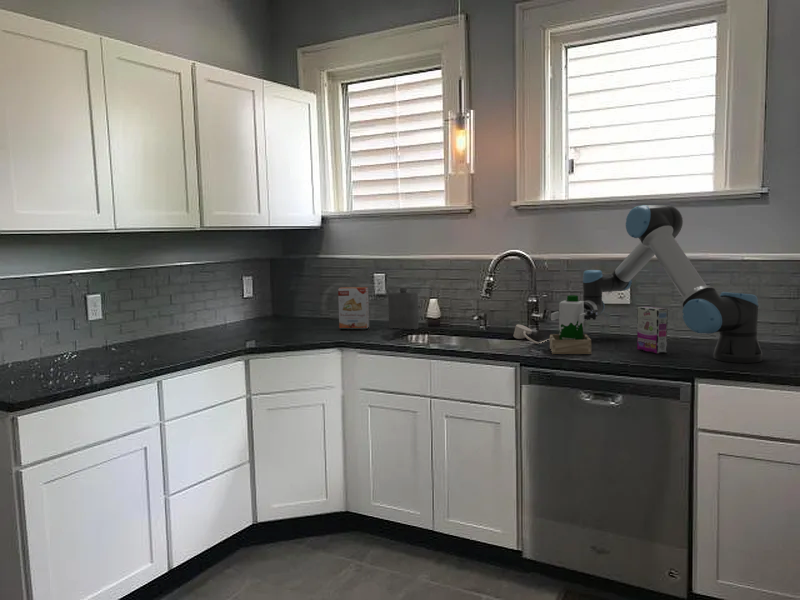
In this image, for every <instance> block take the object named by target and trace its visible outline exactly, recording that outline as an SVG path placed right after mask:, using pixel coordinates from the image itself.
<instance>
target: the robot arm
mask: <svg viewBox="0 0 800 600" xmlns="http://www.w3.org/2000/svg"><path fill="white" fill-rule="evenodd" d="M683 219H684V218H683V215H682V214H681V212H680V211H679V210H678V208H676V207H675V206H672V205H668V204H658V205H657V204H656V205H654V204H652V205H649V204H648V205H646V204H642V205H637V206H634V207H633V208H631V209H630V210H629V212H628V214H627V216H626V218H625V220H626V221H625V229H626V232H627V234H628V235H629V236H630V237H631V238H634V239H639V241H640V242H639V243H638V244H637V245H636V246H635V247H634V248H633V249H632V251H630V252H629V254H628V255H627V256H626V257H625V258H624V259H623V261H622V262H621V263H620V264H619V265H618V266H617V267H616V268H615V269H614V270H613V272H611V273H603V271H602V270H600V269H589V270H588V269H586V270H584V271H583V273H582V274H583V275H582V288H583V291H582V292H583V294H582V301H584V313H583V314H580V315H579V322H583V321H584V322H588V321H589V320H591V319H592V320H594V321H595V320H596V319H597V317H599V316H601V314H602V313H604V311H605V308H606V305H605V302H604V301H603V293H609V292H622V291H626V290H629V289H630V288H631V286H632V284H633V280H632V279H633V278H634V277H635V276H636V275H637V274H638V273H639V272H640V271H641V270H643V268H644V267H646V265H647V264H648V263H649V262H650V261H651V260H652V259H653V257H654V256H655V258H656V259H657V260H658V262H659V264H660V265H661V267H662V268H663V269H664V271H665V273H666V274H667V276H668V277H669V279H670V281H671V282H672V283H673V285H674V287H675V288H676V289H677V291H678V293H679V294H680V296H681V297H682V299H683V300H682V302H681V306H682V307H683V308H682V314H683V315H682V320H683V322H684V323H685V326H686V327H687V328H688V329H690V331H692V332H695V333H697V334H715V333H719V336H718V339H717V341H716V345H715V348H714V349H713V359H715V360H717V361H721V362H727V363H739V364H745V363H746V364H750V363H751V364H752V363H753V364H754V363H759V362H762V361H763V352H762V349H761V346H760V343H759V339H758V318H759V317H758V316H759V314H758V313H759V301H758V300H759V298H758V296H757V295H755V294H752V293H742V292H741V293H740V292H730V291H722V292H720V294H719V293H718V292H717V290H716V289H715V288H714V287H713V286H708V285H707V284H706V282H705V281H704V280H703V278H702V277H701V275H700V274H699V272H698V271H697V269H696V267H694V265H693V264H692V261H691V260H690V258H689V257H688V256H687V255H686V253H685V251H684V250H683V249H682V247H681V246H680V244H679V243H678V241H677V240H676V237H678V235H679V234H680V232H681V230H682V229H683V228H682V227H683V223H684V221H683ZM550 320H551V321H558V320H559V309H555V310H550Z"/></svg>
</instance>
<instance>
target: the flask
mask: <svg viewBox="0 0 800 600" xmlns="http://www.w3.org/2000/svg"><path fill="white" fill-rule="evenodd" d="M418 294H419V293H418V292H413V291H412V292H409V291H408V288H407V287H400V288H399V291H395V292H388V293H387V299H388V328H389V327H390V328H404V329H403V330H411V329H414V330H418V329H419V295H418ZM390 328H389V329H390Z"/></svg>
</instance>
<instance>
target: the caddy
mask: <svg viewBox="0 0 800 600" xmlns="http://www.w3.org/2000/svg"><path fill="white" fill-rule="evenodd" d="M549 339H550V340H549V349H551V350H550V351H552V352H551V355H553V354H591V355H592V339H591V338H590V336H589V335H588V334H587V333H584V335H583V340H559V333H558V334H555V333H553V334H552V333H551V334H549Z"/></svg>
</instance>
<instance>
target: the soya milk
mask: <svg viewBox="0 0 800 600" xmlns="http://www.w3.org/2000/svg"><path fill="white" fill-rule="evenodd" d="M566 298H567V300H562V301H560V302H558V303H559V309H558V310H559V319H558V334H559V340H583V335H584V334H585V332H584V330H585V329H584V328H585V327H584V326H585V325H584V324H585V321H583V322H579V315H580V314H583V313H584V301H583V300H579V296H578V295H572V294H571V295H567V296H566Z"/></svg>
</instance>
